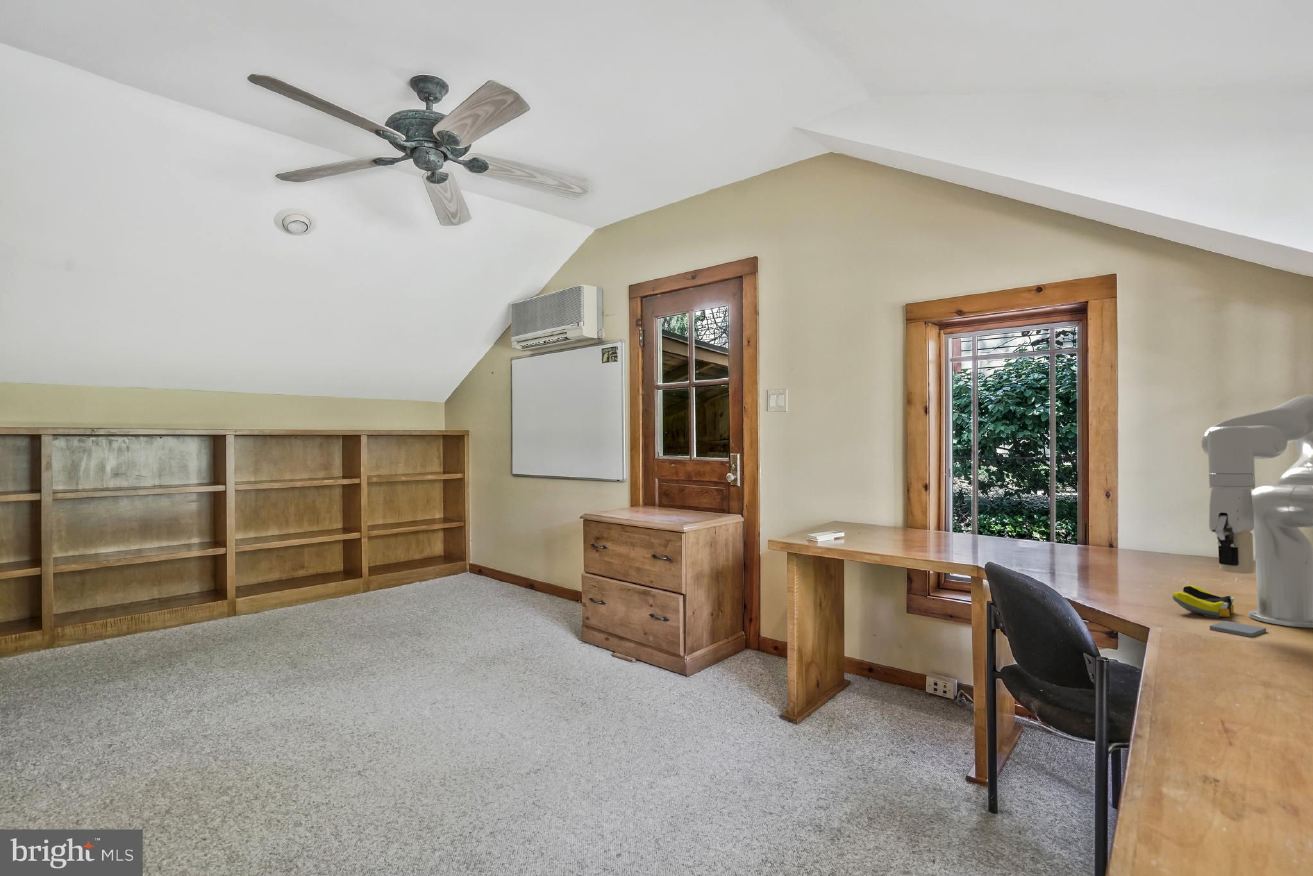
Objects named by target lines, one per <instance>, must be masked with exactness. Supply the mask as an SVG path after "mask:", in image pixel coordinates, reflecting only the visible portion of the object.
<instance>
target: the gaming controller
mask: <svg viewBox="0 0 1313 876" xmlns="http://www.w3.org/2000/svg"><path fill="white" fill-rule="evenodd" d="M1172 600H1173V601H1174V602H1176V604H1178V606H1180V607H1181V608H1183V609H1185V610H1186V611H1187V612H1191V613H1194V614H1199V613H1200V614H1201V615H1203V616H1204V615H1206V616H1208V617H1207V618H1210V617H1215V618H1214V619H1217V618H1216V617H1219V618H1220V617H1224V618H1226V617H1231V614H1233V613H1235V609H1234V605H1233V602H1234V601H1235V597H1233V596H1231V595H1226V596H1218V595H1215V594H1213V593H1211V592H1209V591H1207V590H1205V589H1203V588H1201V587H1199V586H1197V585H1196V586H1195V585H1192V584H1188V585H1186V586H1185V585H1184V586H1183V589H1182V591H1176V592H1173V594H1172ZM1206 616H1205V617H1206Z"/></svg>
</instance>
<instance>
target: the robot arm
mask: <svg viewBox="0 0 1313 876" xmlns="http://www.w3.org/2000/svg"><path fill="white" fill-rule="evenodd" d="M1291 442H1295V449H1296V455H1297V460H1296V461H1295V462H1294V463H1293V464H1292V465H1291V466H1290V467H1288V469H1287V470H1286V471H1284V472H1283V473H1282V474H1281V475H1280V477H1278V480H1277V483H1276V484H1264V485H1259V486H1257V487H1256V474H1255V473H1256V470H1255V468H1256V467H1255V460H1260V459H1261V460H1265V459H1273V458H1277V457H1279V456H1281V455H1282V454H1284V453H1285V451H1286V450H1287V447H1288V444H1289V443H1291ZM1201 447H1202V450H1203V452H1204V453H1205V454H1206V455H1207V456H1208V457H1207V458H1208V477H1209V478H1208V482H1209V483H1208V484H1209V486H1208V487H1209V489H1211V490H1210V497H1209V512H1208V513H1209V517H1208V522H1209V523H1208V526H1209V527H1208V528H1209V530H1210V531H1211V532H1212V533H1215V534H1216V536H1217V537H1216V538H1217V546H1218V547H1217V548H1218V563H1219V565H1220V564H1223V565H1232V566H1238V565H1239V558H1238V547H1236V540H1237V534H1239V533H1242V532H1243V531H1244V530H1246V529H1247V530H1248V531H1250V532H1251V531H1253V535H1254V536H1253V538H1254V550H1255V551H1254V552H1255V578H1256V579H1255V580H1256V599H1257V600H1256V602H1257V603H1256V604H1257V609H1252V610H1248V616H1249V617H1250V618H1251V619H1254V620H1256V621H1259V622H1263V623H1267V624H1273V625H1279V626H1285V627H1292V628H1293V627H1295V628H1309V629H1311V628H1313V545H1312V543H1311V542H1310V540H1309V538H1308V537H1307V536H1306V535H1305V534H1304V533H1303V532H1302V530H1301V529H1300V528H1307V529H1308V528H1310V529H1313V393H1311V394H1303V395H1299V396H1295V397H1294V398H1292V399H1290V400H1287V401H1285V402H1284V403H1283V402H1282V403H1281V404H1279V405H1278V406H1275V407H1273V408H1270V409H1268V410H1262V411H1258V412H1254V413H1250V414H1246V415H1242V416H1237V417H1233V418H1229V419H1226V420H1223V421H1220V422H1218V423H1217V424H1215V425H1213V426H1211V427H1209V428H1208V429H1206V431H1205V432H1204V434H1203V436H1202V438H1201ZM1226 530H1231V531H1233V532H1226ZM1229 536H1231V539H1230V537H1229Z"/></svg>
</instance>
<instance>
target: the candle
mask: <svg viewBox="0 0 1313 876" xmlns="http://www.w3.org/2000/svg"><path fill="white" fill-rule="evenodd" d="M1226 532H1233V531H1231V530H1226ZM1253 535H1254V533H1252V532H1251V531H1248V530H1247V529H1246V530H1244V531H1243V532H1242V533H1239V534H1237V540H1236V547H1238V558H1239V565H1238V566H1232V565H1223V564H1220V563H1219V571H1222V572H1226V573H1231V574H1254V572H1255V568H1254V567H1255V566H1254V540H1253V538H1254V536H1253ZM1229 537H1230V539H1231V536H1229Z"/></svg>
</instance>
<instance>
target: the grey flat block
mask: <svg viewBox="0 0 1313 876" xmlns="http://www.w3.org/2000/svg"><path fill="white" fill-rule="evenodd" d="M1209 630H1211V631H1217V632H1221V633H1227V634H1231V635H1237V636H1243V637H1247V636H1248V637H1249V638H1253V637H1255V636H1259V635H1261V634H1264V633H1267V627H1262V626H1256V625H1251V624H1246V623H1245V624H1244V623H1240V622H1235V621H1234V622H1233V621H1228V620H1224V621H1221V622H1217V623H1215V624H1211V625H1209ZM1248 637H1247V638H1248Z"/></svg>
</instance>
